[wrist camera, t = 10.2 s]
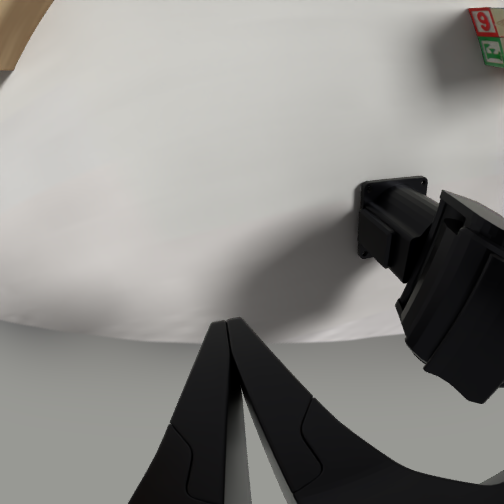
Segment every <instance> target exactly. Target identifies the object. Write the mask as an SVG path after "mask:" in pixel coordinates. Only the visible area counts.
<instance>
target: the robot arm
mask: <svg viewBox="0 0 504 504" xmlns="http://www.w3.org/2000/svg"><path fill="white" fill-rule="evenodd" d="M422 181H423V182H422ZM421 183H422V184H421ZM427 184H428V180H427V178H425V177H423V176H413V177H402V178H392V179H382V180H373V181H366V182H364V183H363V185H362V188H361V210H360V212H359V224H358V241H359V242H358V255H359V256H360V258H362V259H366V258H370V257H374V258H375V259H376V260H377V261H378V262H379V263H380V264H381V265H382V266H383V267H384V268H385V269H386V268H389V269H390V270H391V271H392V272H393V273H394V274H395V275H396V276H397V277H398V278H399V279H400V281H401V282H402V283H403V284H404V283H407V285H406V287H405V289H404V291H403V293H402V295H401V297H400V298H399V299H398V300H397V302H396V304H395V307H396V309H397V312H398V315H399V318H400V321H401V324H402V326H403V329H404V332H405V335H406V338H405V342H406V344H407V346H408V347H409V348H410V350H411V351H412V352H413V353H414V355H415V356H416V357H417V358H418V359H419V360H420V361H422V362H423V363H424V364H425V366H424V367H423V369H424V370H425V371H426V372H428V373H431V374H433V375H436V376H439V377H440V378H442V379H443V380H445V381H447V382H448V383H450V384H451V385H452V386H453V387H454V388H455V389H456V390H457V391H458V392H460V393H461V394H462V395H463V396H464V397H465V398H466V399H467V400H469V401H472V402H475V403H479V404H483V403H485V402H486V401H487V399H489V398H490V396H491V395H492V394H493V393H494V392H495V391H496V390H497V389H498V388H504V218H503V217H502V216H501V215H500V214H498V213H496V212H495V211H493V210H491V209H489V208H488V207H486V206H484V205H482V204H480V203H479V202H476V201H474V200H471V199H468V198H466V197H463V196H460V195H457V194H454V193H451V192H448V191H445V190H442V192H441V195H440V198H441V200H440V203H437V202H436V201H434V200H432V199H431V198H429V197H427V196H426V193H427ZM368 186H370V189H369V190H368V191H367V188H368ZM364 251H365V253H364V254H363V252H364ZM241 389H242V391H241ZM242 392H243V394H244V398H245V401H246V403H247V406H248V408H249V411H250V414H251V417H252V419H253V422H254V425H255V427H256V429H257V432H258V435H259V437H260V440H261V442H262V445H263V447H264V450H265V452H266V455H267V457H268V459H269V462H270V464H271V467H272V469H273V471H274V474H275V476H276V479H277V481H278V483H279V485H280V488H281V490H282V492H283V495H284V497H285V499H286V501H287V503H288V504H504V470H503V471H501V472H500V473H498V474H496V475H495V476H493V477H491V478H489V479H487V480H486V481H484V482H482V483H480V484H474V483H467V482H462V481H456V480H451V479H446V478H441V477H436V476H432V475H428V474H424V473H420V472H417V471H414V470H411V469H409V468H406V467H404V466H402V465H400V464H399V463H397V462H395V461H394V460H392V459H390V458H389V457H387V456H386V455H385V454H383V453H381V452H380V451H379V450H377V449H375V448H374V447H373V446H371V445H370V444H369V443H367V442H366V441H364V440H363V439H362V438H360V437H359V436H357V435H356V434H355V433H353V432H352V431H351V430H350V429H348V428H347V427H346V426H345V425H343V424H342V423H341V422H340V421H338V420H337V419H336V418H335V417H334V416H333V415H332V414H331V413H330V412H329V411H328V410H327V409H325V407H323V406H322V404H321V403H320V402H319V401H318V400H317V399H316V398H313V395H312V394H311V393H310V392H309V391H308V390H307V389H306V388H305V387H304V386H303V385H302V384H301V383H300V382H299V381H298V380H297V379H296V378H295V376H294V375H293V374H292V373H291V372H290V371H289V370H288V369H287V368H286V367H285V366H284V365H283V363H282V362H281V361H280V360H279V359H278V358H277V357H276V356H275V355H274V354H273V352H271V350H270V349H269V348H268V347H267V346H266V345H265V344H264V342H263V341H262V340H261V339H260V338H259V337H258V336H257V335H256V333H255V332H254V331H253V330H252V329H251V328H250V327H249V325H248V324H247V323H246V322H245V321H244V320H243V319H242V318H241V317H237V318H232V319H228V320H227V322H226V321H225V320H222V321H216V322H212V323H211V324H210V327H209V329H208V331H207V334H206V336H205V338H204V341H203V343H202V346H201V348H200V350H199V353H198V355H197V357H196V360H195V362H194V365H193V367H192V369H191V372H190V374H189V377H188V379H187V382H186V384H185V386H184V389H183V391H182V394H181V396H180V398H179V401H178V403H177V406H176V408H175V411H174V413H173V416H172V418H171V420H170V423H171V424H169V425H168V427H167V430H166V432H165V435H164V437H163V439H162V442H161V444H160V446H159V448H158V451H157V453H156V455H155V457H154V459H153V461H152V462H151V464H150V466H149V468H148V470H147V472H146V473H145V475H144V477H143V478H142V480H141V482H140V484H139V485H138V487H137V489H136V491H135V492H134V494H133V496H132V497H131V499H130V501H129V502H128V504H252V501H251V492H250V482H249V471H248V460H247V448H246V437H245V425H244V413H243V399H242Z"/></svg>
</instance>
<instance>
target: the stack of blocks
mask: <svg viewBox="0 0 504 504" xmlns="http://www.w3.org/2000/svg"><path fill="white" fill-rule="evenodd" d="M468 10H469V12H470V15H471V18H472V21H473V24H474V27H475V30H476V33H477V36H478V39H479V42H480V46H481V50H482V54H483V58H484V62H485V65H489V66H495V67H500V68H504V8H491V7H483V8H469V9H468Z"/></svg>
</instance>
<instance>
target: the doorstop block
mask: <svg viewBox="0 0 504 504" xmlns="http://www.w3.org/2000/svg"><path fill="white" fill-rule="evenodd" d="M53 1H54V0H0V70H14V68H15V66H16V64H17V62H18V60H19V58H20V56H21V54H22V52H23V50H24V48H25V46H26V45H27V43H28V41H29V39H30V37H31V36H32V34H33V32H34V30H35V29H36V27H37V25H38V24H39V22H40V21H41V19H42V17H43V16H44V14H45V13H46V11H47V10H48V8H49V7H50V5H51V4H52V3H53Z"/></svg>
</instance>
